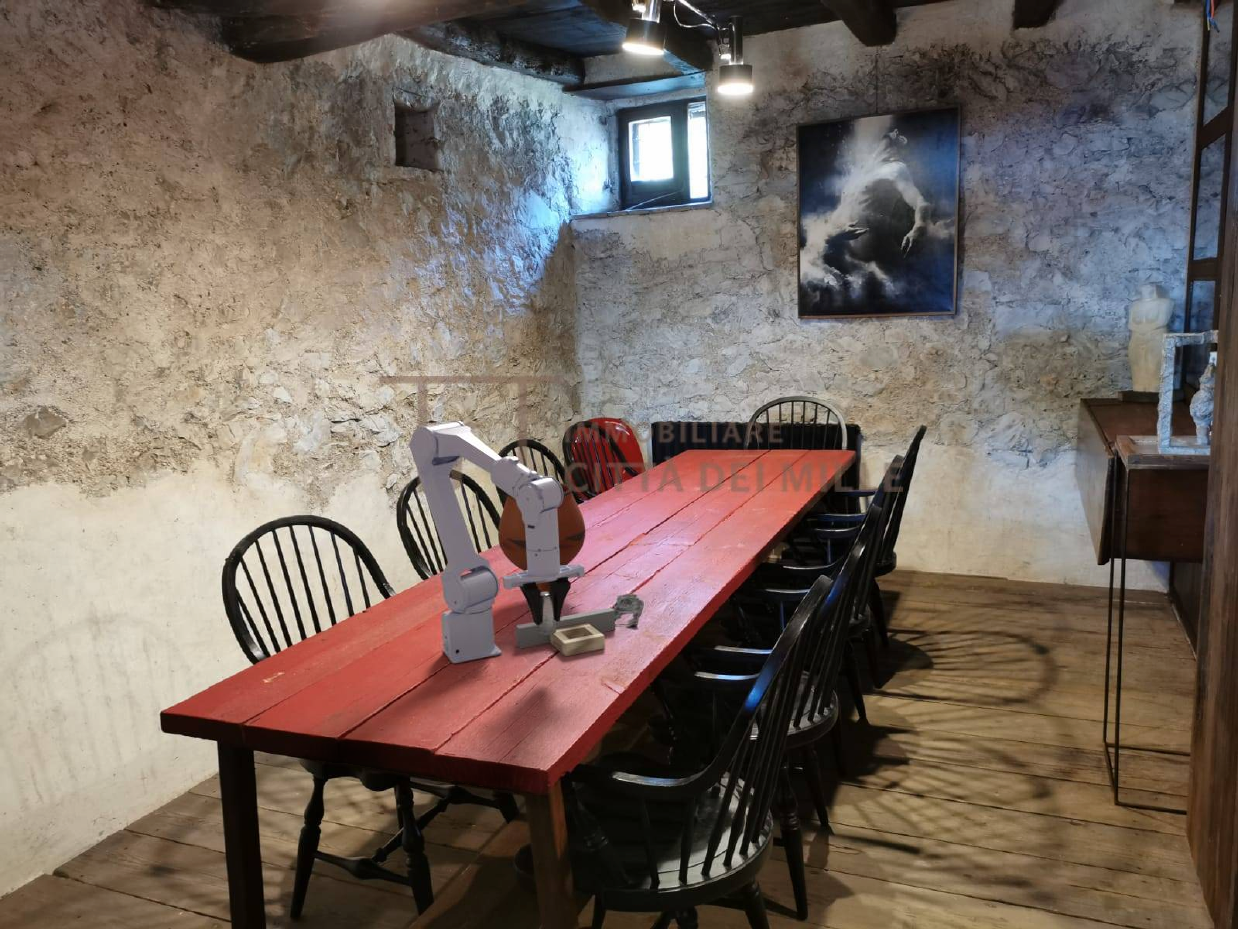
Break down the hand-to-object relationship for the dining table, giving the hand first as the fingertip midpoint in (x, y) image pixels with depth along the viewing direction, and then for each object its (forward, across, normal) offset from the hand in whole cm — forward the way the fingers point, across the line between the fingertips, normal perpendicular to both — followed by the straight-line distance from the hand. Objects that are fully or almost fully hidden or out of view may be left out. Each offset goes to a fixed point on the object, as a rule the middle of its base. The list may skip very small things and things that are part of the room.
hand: (546, 621), depth 162 cm
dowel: (+2, 0, 0) cm, 2 cm away
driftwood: (+10, +26, +23) cm, 36 cm away
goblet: (+10, +14, +40) cm, 43 cm away
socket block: (+9, +9, +9) cm, 16 cm away
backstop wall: (+9, +9, +14) cm, 19 cm away
